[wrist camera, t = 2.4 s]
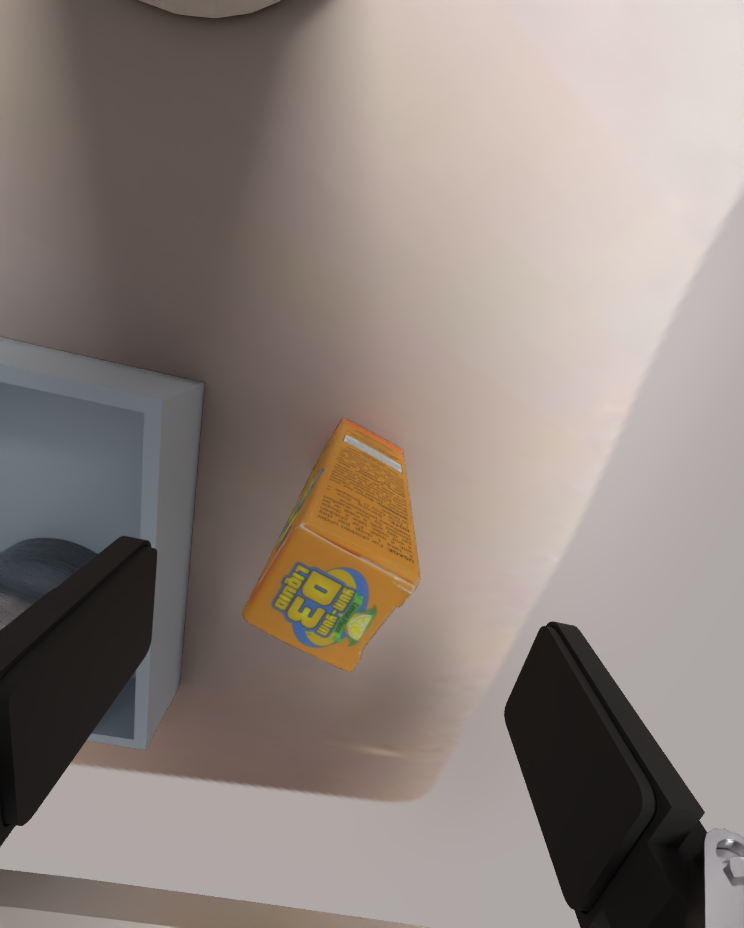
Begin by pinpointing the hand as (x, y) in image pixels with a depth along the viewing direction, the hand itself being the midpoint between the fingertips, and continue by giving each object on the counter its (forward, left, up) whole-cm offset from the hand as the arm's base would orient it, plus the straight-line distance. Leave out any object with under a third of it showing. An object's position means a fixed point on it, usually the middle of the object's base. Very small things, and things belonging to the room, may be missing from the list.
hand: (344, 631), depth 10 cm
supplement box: (-1, 0, -10) cm, 10 cm away
